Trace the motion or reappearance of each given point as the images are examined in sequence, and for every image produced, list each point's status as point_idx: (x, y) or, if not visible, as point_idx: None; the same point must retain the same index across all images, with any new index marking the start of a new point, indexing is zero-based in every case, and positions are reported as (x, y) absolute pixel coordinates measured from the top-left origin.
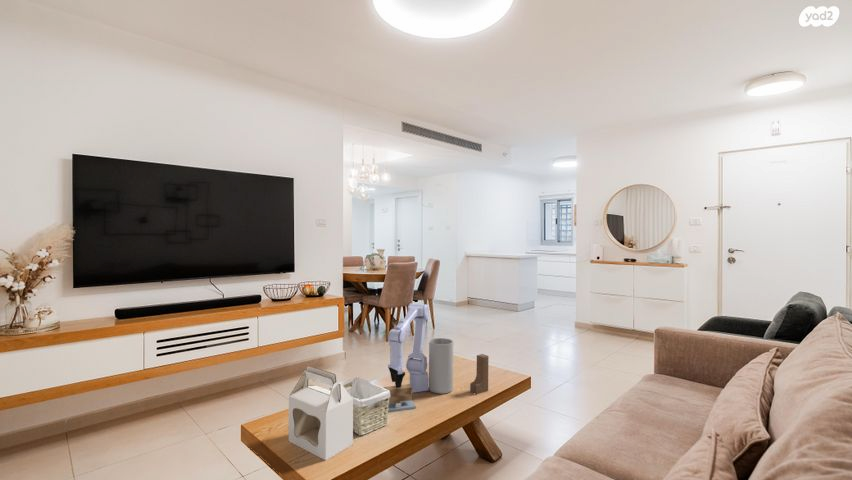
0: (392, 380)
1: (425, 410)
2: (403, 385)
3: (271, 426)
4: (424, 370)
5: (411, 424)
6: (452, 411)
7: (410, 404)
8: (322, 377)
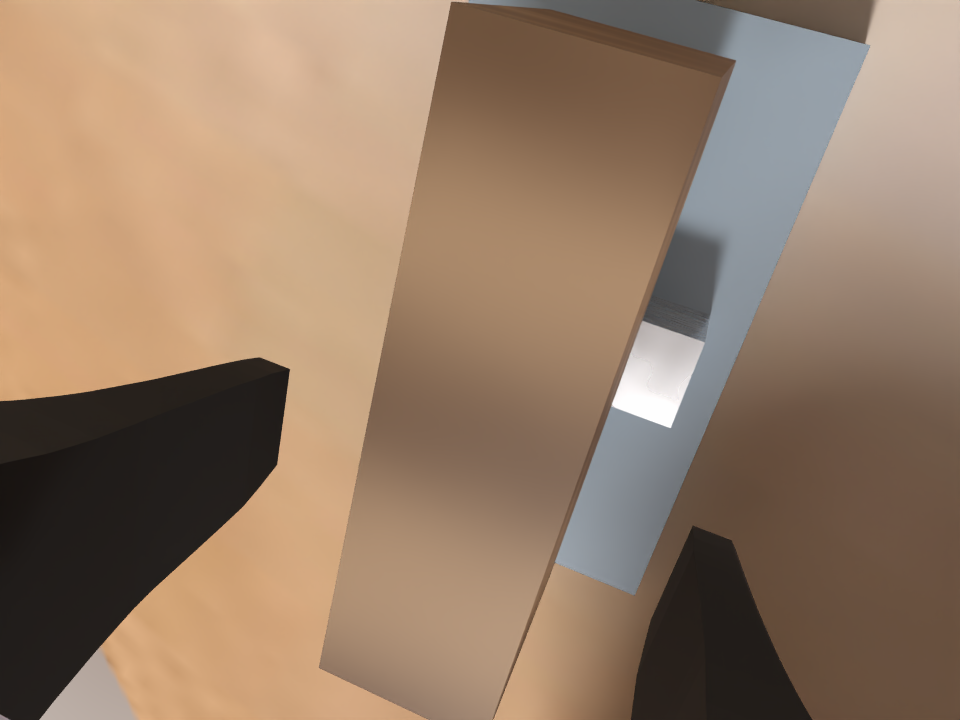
0: (689, 556)
1: (285, 518)
2: (483, 623)
3: None
4: None
5: (37, 170)
6: (164, 677)
7: None
8: None
